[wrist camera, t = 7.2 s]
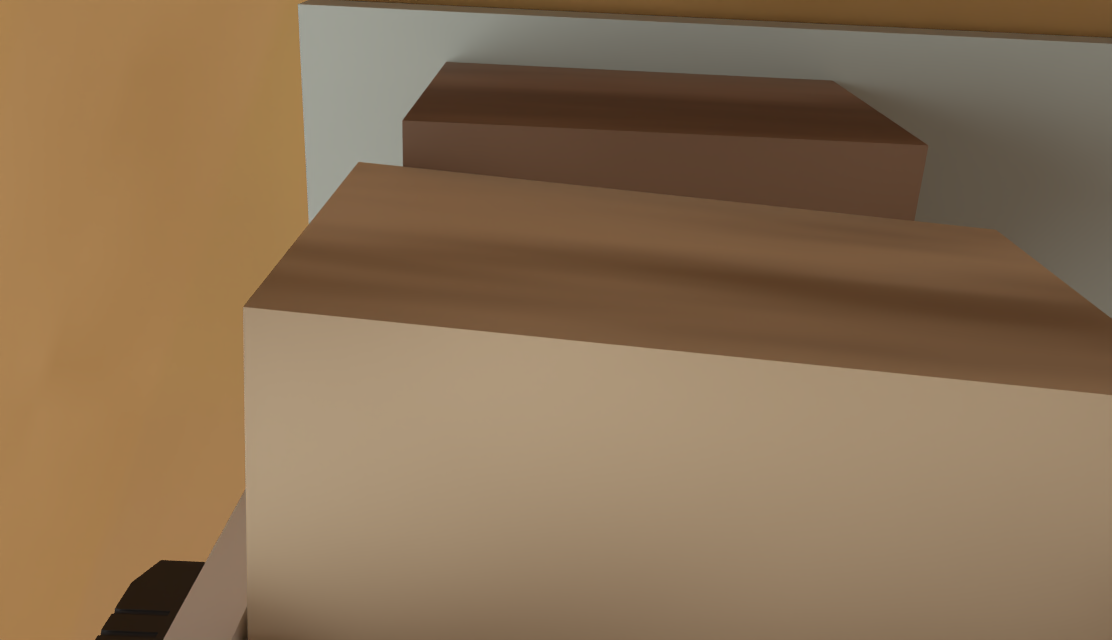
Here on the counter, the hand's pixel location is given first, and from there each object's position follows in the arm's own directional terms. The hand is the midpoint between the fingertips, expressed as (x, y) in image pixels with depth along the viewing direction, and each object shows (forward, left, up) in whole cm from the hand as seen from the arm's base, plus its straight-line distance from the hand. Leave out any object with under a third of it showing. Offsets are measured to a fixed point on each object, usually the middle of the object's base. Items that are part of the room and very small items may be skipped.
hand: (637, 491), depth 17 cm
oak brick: (0, 0, 0) cm, 0 cm away
